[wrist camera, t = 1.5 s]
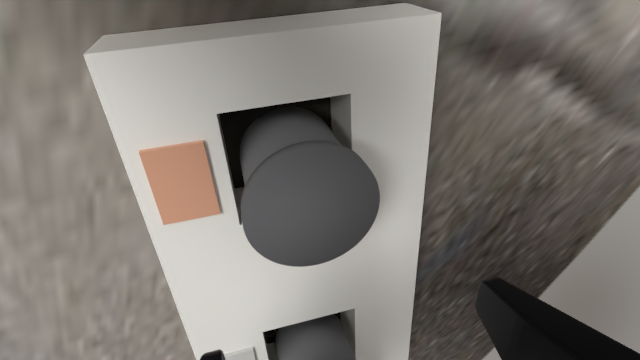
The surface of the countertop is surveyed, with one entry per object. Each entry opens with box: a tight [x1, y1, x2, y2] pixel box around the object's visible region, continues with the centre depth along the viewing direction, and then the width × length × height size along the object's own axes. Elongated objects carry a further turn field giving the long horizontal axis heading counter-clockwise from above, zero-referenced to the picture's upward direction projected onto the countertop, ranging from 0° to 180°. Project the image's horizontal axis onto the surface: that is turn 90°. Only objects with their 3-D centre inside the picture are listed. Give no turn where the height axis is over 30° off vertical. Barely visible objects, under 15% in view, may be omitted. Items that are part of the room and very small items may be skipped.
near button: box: [239, 106, 380, 267], centre depth 15 cm, size 5×5×4 cm
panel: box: [83, 3, 442, 360], centre depth 20 cm, size 22×12×3 cm, turn 3°
